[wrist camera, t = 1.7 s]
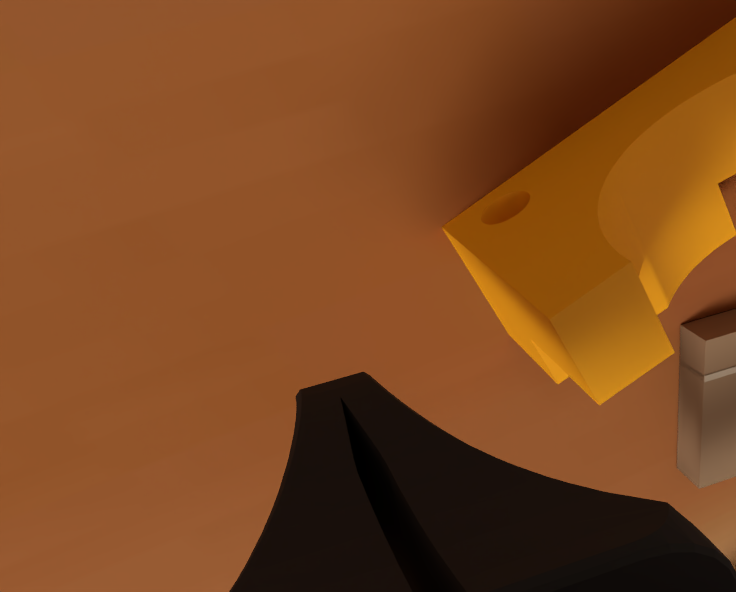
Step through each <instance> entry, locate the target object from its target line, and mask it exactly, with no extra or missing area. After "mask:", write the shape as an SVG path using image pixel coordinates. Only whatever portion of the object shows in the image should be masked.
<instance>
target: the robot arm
mask: <svg viewBox="0 0 736 592" xmlns="http://www.w3.org/2000/svg"><path fill="white" fill-rule="evenodd" d="M296 402H297V411H296V422H295V429H294V435H293V440H292V445H291V450H290V454H289V459H288V462H287V466H286V469H285V473H284V476H283V479H282V482H281V486H280V489H279V492H278V495H277V498H276V500H275V503H274V506H273V508H272V511H271V513H270V516H269V518H268V520H267V523H266V525H265V527H264V530H263V532H262V534H261V536H260V538H259V540H258V542H257V544H256V546H255V548H254V550H253V552H252V554H251V556H250V558H249V560H248V562H247V563H246V565H245V567H244V569H243V571H242V572H241V574H240V576H239V577H238V579H237V581H236V582H235V584H234V585H233V587H232V588H231V590H230V591H229V592H736V572H735V570H734V568H733V566H732V564H731V562H730V561H729V560H728V559H727V558H726V557H725V556H724V555H723V554H722V552H721V551H720V550H719V549H718V548H717V547H716V546H715V545H714V544H713V543H712V542H711V541H710V540H709V539H708V538H707V537H706V536H705V535H704V534H703V533H702V532H701V531H700V530H698V529H697V528H696V527H695V526H694V525H693V524H692V523H691V522H690V521H688V520H687V519H686V518H685V517H684V516H682V515H681V514H680V513H679V512H678V511H676V510H675V509H674V508H673V507H672V506H671V505H670V504H668V503H667V502H661V501H655V500H649V499H643V498H637V497H631V496H625V495H619V494H613V493H608V492H603V491H599V490H595V489H591V488H587V487H583V486H579V485H575V484H571V483H567V482H563V481H560V480H557V479H553V478H550V477H546V476H543V475H541V474H538V473H535V472H532V471H529V470H526V469H523V468H521V467H518V466H515V465H512V464H510V463H507V462H505V461H502V460H500V459H498V458H495V457H493V456H491V455H489V454H487V453H485V452H482V451H480V450H478V449H476V448H474V447H472V446H470V445H468V444H466V443H464V442H462V441H461V440H459V439H457V438H455V437H454V436H452V435H450V434H449V433H447V432H445V431H444V430H442V429H440V428H439V427H437V426H436V425H434V424H433V423H431V422H429V421H428V420H427V419H425V418H424V417H422V416H421V415H419V414H418V413H416V412H415V411H414V410H412V409H411V408H409V407H408V406H407V405H405V404H404V403H403V402H401V401H400V400H399V399H397V398H396V397H395V396H394V395H392V394H391V393H390V392H388V391H387V390H386V389H385V388H384V387H382V386H381V385H380V384H379V383H378V382H377V381H376V380H374V379H373V378H372V377H371V376H370V375H368V374H367V373H365V372H361V373H357V374H354V375H350V376H347V377H343V378H340V379H336V380H333V381H329V382H326V383H322V384H318V385H315V386H311V387H308V388H304V389H301V390H300V391H299V392H298V394H297V395H296Z"/></svg>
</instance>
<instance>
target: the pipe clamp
mask: <svg viewBox="0 0 736 592" xmlns="http://www.w3.org/2000/svg"><path fill="white" fill-rule="evenodd" d="M734 174H736V17H735V18H734V19H732V20H731V21H730V22H728V23H727V24H725V25H724V26H723V27H721V28H720V29H718V30H717V31H716V32H714V33H713V34H711V35H710V36H709V37H707V38H706V39H704V40H703V41H702V42H700V43H699V44H697V45H696V46H695V47H693V48H692V49H690V50H689V51H688V52H686V53H685V54H683V55H682V56H681V57H679V58H678V59H676V60H675V61H673V62H672V63H671V64H669V65H668V66H666V67H665V68H664V69H662V70H661V71H659V72H658V73H657V74H655V75H654V76H652V77H651V78H650V79H648V80H647V81H645V82H644V83H643V84H641V85H640V86H638V87H637V88H636V89H634V90H633V91H631V92H630V93H629V94H627V95H626V96H624V97H623V98H622V99H620V100H619V101H617V102H616V103H615V104H613V105H612V106H610V107H609V108H608V109H606V110H605V111H603V112H602V113H601V114H599V115H598V116H596V117H595V118H594V119H592V120H591V121H589V122H588V123H587V124H585V125H584V126H582V127H581V128H580V129H578V130H577V131H575V132H574V133H573V134H571V135H570V136H568V137H567V138H566V139H564V140H563V141H561V142H560V143H559V144H557V145H556V146H554V147H553V148H552V149H550V150H549V151H547V152H546V153H545V154H543V155H542V156H540V157H539V158H538V159H536V160H535V161H533V162H532V163H531V164H529V165H528V166H526V167H525V168H524V169H522V170H521V171H519V172H518V173H517V174H515V175H514V176H512V177H511V178H510V179H508V180H507V181H505V182H504V183H503V184H501V185H500V186H498V187H497V188H496V189H494V190H493V191H491V192H490V193H489V194H487V195H486V196H484V197H483V198H481V199H480V200H479V201H477V202H476V203H474V204H473V205H472V206H470V207H469V208H467V209H466V210H465V211H463V212H462V213H460V214H459V215H458V216H456V217H455V218H453V219H452V220H451V221H449V222H448V223H446V224H445V225H444V226H442V229H443V230H444V232H445V233H446V235H447V237H448V238H449V240H450V241H451V243H452V245H453V246H454V248H455V249H456V251H457V253H458V254H459V256H460V257H461V259H462V260H463V262H464V264H465V265H466V267H467V268H468V270H469V272H470V273H471V275H472V276H473V278H474V280H475V281H476V283H477V284H478V286H479V288H480V289H481V291H482V292H483V294H484V296H485V297H486V299H487V300H488V302H489V303H490V305H491V307H492V308H493V310H494V311H495V313H496V315H497V316H498V318H499V319H500V321H501V323H502V324H503V326H504V327H505V329H506V331H507V332H508V334H509V335H510V336H511V337H512V338H513V339H514V340H515V341H516V342H517V343H518V344H519V345H520V346H521V347H522V348H523V349H524V351H525V352H526V353H527V354H528V355H529V356H530V357H531V358H532V359H533V360H534V361H535V362H536V363H537V364H538V365H539V366H540V367H541V368H542V369H543V370H544V371H545V372H546V373H547V374H548V375H549V376H550V377H551V378H552V379H553V380H554V381H555V382H556V383H557V384H559V383H561V382H562V381H564V380H565V379H566V378H568V377H570V378H571V379H573V380H574V381H575V382H576V383H577V384H578V385H579V386H580V387H581V388H582V389H583V390H584V391H585V392H586V393H587V394H588V395H589V396H590V397H591V398H592V399H593V400H594V401H595V402H596V403H597V404H599V405H600V404H602V403H603V402H605V401H606V400H607V399H609V398H610V397H612V396H613V395H615V394H616V393H617V392H619V391H620V390H622V389H623V388H625V387H626V386H627V385H629V384H630V383H632V382H633V381H635V380H636V379H637V378H639V377H640V376H642V375H643V374H645V373H646V372H648V371H649V370H650V369H652V368H653V367H655V366H656V365H658V364H659V363H660V362H662V361H663V360H665V359H666V358H668V357H669V356H670V355H672V354H673V353H675V352H674V350H673V348H672V346H671V344H670V342H669V339H668V337H667V335H666V333H665V331H664V329H663V327H662V325H661V323H660V321H659V318H658V316H657V315H658V314H659V313H661V312H662V311H663V310H665V309H666V308H668V305H669V303H670V301H671V299H672V297H673V295H674V294H675V292H676V290H677V289H678V287H679V286H680V284H681V283H682V282H683V280H684V279H685V278H686V276H687V275H688V274H689V273H690V272H691V271H692V270H693V268H694V267H696V266H697V265H698V264H699V263H700V262H701V261H702V260H703V259H704V258H705V257H706V256H707V255H709V254H710V253H711V252H712V251H714V250H715V249H716V248H718V247H719V246H720V245H722V244H723V243H725V242H726V241H727V240H729V239H730V238H732V237H734V236H735V235H736V231H735V228H734V226H733V223H732V220H731V218H730V215H729V212H728V210H727V207H726V204H725V202H724V199H723V196H722V194H721V191H720V188H719V185H718V183H720V182H722V181H723V180H725V179H727V178H729V177H731V176H732V175H734Z"/></svg>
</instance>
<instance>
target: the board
mask: <svg viewBox="0 0 736 592" xmlns="http://www.w3.org/2000/svg"><path fill="white" fill-rule="evenodd" d="M677 468H678V469H679V470H680V471H681V472H682V473H683V474H684V475H685V476H686V477H687V478H688V479H689V480H690V481H691V482H693V483H694V484H695V485H696V486H697V487H698V488H699V489H700V488H703V487H706V486H709V485H712V484H715V483H718V482H721V481H724V480H727V479H730V478H733V477H736V309H733V310H730V311H726V312H723V313H720V314H716V315H713V316H709V317H706V318H703V319H699V320H696V321H692V322H689V323H686V324H682V325H681V330H680V369H679V408H678V447H677Z"/></svg>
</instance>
